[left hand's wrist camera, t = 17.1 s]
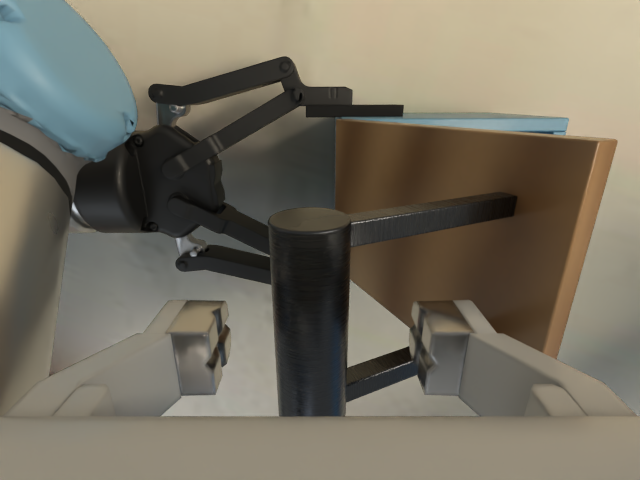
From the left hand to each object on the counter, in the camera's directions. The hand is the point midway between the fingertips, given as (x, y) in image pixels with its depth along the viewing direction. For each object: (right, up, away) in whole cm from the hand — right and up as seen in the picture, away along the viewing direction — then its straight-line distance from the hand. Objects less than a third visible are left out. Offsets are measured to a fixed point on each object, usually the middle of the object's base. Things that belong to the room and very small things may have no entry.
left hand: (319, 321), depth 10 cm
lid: (+5, +3, +7) cm, 9 cm away
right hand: (+6, +7, +17) cm, 19 cm away
